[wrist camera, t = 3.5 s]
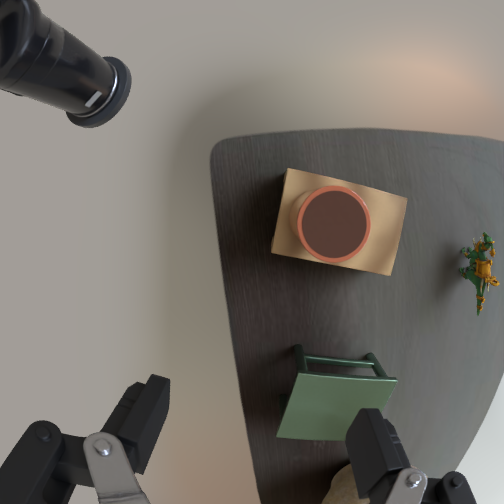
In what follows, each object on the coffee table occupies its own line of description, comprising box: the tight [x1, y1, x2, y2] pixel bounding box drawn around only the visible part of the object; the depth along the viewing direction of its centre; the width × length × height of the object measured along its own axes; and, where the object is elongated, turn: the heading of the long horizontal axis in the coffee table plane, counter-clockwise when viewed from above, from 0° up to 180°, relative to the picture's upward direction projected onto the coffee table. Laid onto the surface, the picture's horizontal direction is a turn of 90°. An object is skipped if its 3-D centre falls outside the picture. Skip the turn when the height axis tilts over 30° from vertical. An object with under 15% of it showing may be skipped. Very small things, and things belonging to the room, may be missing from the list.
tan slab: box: [271, 168, 407, 276], centre depth 32 cm, size 14×9×5 cm, turn 80°
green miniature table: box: [276, 344, 398, 441], centre depth 34 cm, size 13×11×8 cm
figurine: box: [460, 232, 499, 316], centre depth 30 cm, size 3×12×8 cm, turn 5°
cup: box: [289, 185, 371, 263], centre depth 25 cm, size 6×6×8 cm
